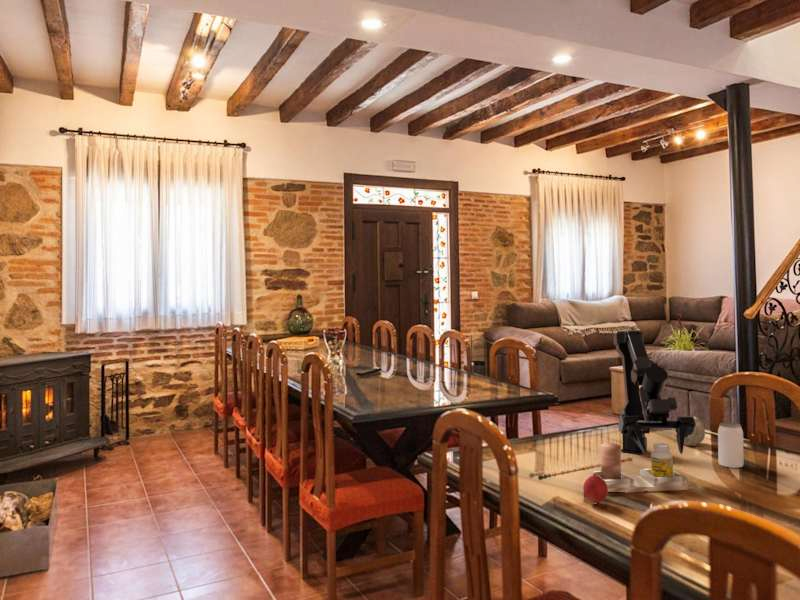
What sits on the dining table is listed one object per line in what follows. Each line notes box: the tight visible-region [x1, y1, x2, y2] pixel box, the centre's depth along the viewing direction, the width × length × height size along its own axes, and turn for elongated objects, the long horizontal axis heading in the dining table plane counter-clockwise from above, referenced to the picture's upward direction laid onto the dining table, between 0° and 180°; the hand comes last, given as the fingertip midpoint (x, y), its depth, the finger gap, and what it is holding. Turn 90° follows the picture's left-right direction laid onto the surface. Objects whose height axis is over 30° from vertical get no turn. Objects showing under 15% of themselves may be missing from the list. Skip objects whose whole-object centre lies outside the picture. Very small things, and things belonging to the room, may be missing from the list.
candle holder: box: [589, 442, 689, 493], centre depth 163 cm, size 24×9×11 cm, turn 93°
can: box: [717, 422, 744, 469], centre depth 179 cm, size 6×6×12 cm
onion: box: [582, 473, 609, 504], centre depth 151 cm, size 6×6×8 cm
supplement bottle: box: [650, 442, 674, 477], centre depth 164 cm, size 5×5×10 cm
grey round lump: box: [684, 416, 706, 447], centre depth 203 cm, size 9×8×10 cm
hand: (663, 452), depth 162 cm, fingers open, 9 cm apart
